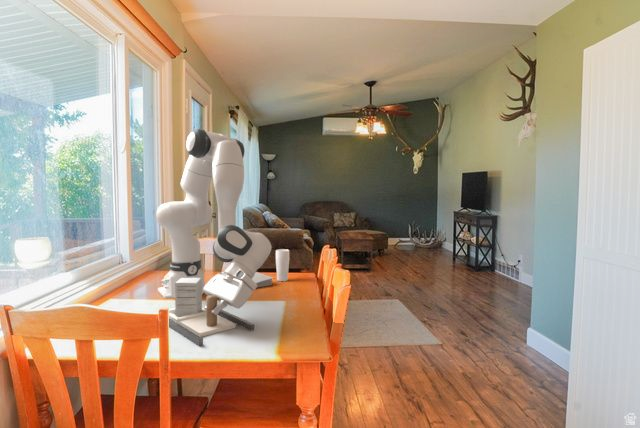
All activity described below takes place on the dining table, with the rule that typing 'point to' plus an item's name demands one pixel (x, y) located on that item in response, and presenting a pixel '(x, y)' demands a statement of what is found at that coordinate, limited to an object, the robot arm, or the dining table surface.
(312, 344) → the dining table surface
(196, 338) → the dark grey parallel rails
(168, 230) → the robot arm
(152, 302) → the dining table surface
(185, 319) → the board with brown peg
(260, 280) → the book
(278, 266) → the white piece
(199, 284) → the supplement box
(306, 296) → the dining table surface
